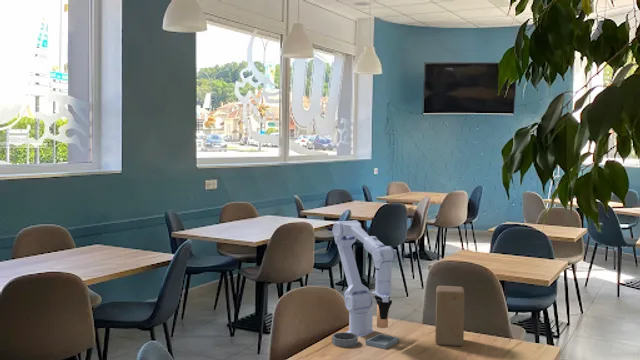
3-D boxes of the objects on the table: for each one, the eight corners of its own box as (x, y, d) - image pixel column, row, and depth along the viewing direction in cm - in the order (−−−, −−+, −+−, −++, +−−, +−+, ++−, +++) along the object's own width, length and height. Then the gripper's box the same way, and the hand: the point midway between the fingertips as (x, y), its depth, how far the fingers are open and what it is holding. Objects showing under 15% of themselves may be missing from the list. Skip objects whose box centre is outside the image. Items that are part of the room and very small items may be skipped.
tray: (379, 339, 229) (379, 333, 229) (398, 343, 224) (398, 337, 224) (365, 345, 221) (365, 340, 221) (385, 350, 216) (385, 344, 216)
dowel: (380, 324, 225) (380, 302, 224) (389, 326, 222) (390, 304, 222) (374, 326, 222) (375, 305, 221) (384, 328, 219) (384, 306, 219)
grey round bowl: (341, 338, 229) (341, 330, 229) (362, 343, 223) (362, 335, 223) (327, 345, 221) (327, 336, 221) (348, 350, 216) (348, 341, 216)
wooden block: (463, 347, 221) (464, 292, 220) (435, 345, 223) (436, 290, 222) (462, 338, 230) (463, 286, 229) (435, 336, 232) (436, 284, 231)
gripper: (370, 275, 228) (369, 311, 229) (374, 284, 214) (373, 322, 215) (389, 276, 229) (388, 312, 229) (394, 284, 214) (394, 322, 215)
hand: (382, 317), depth 222 cm, fingers closed on dowel, 4 cm apart
